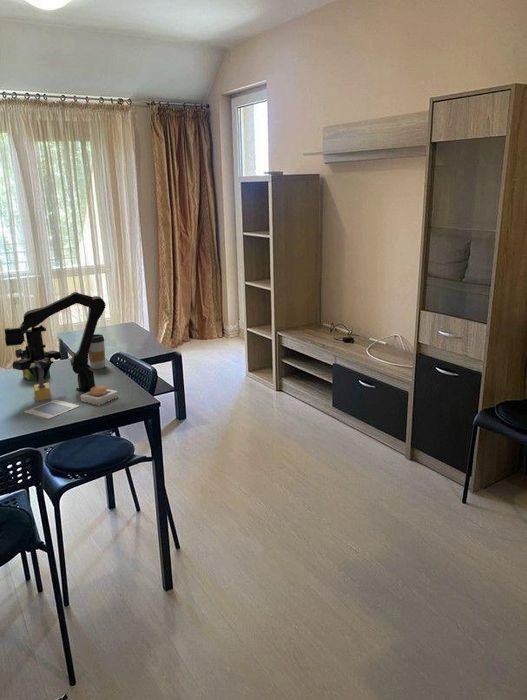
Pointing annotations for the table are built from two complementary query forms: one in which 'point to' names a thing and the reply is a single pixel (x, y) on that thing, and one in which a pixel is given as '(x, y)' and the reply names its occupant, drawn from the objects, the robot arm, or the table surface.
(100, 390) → the button
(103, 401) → the button housing
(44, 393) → the rubber stamp
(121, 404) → the table surface
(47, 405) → the paper sheet
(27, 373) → the chalk box
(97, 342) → the coffee cup
